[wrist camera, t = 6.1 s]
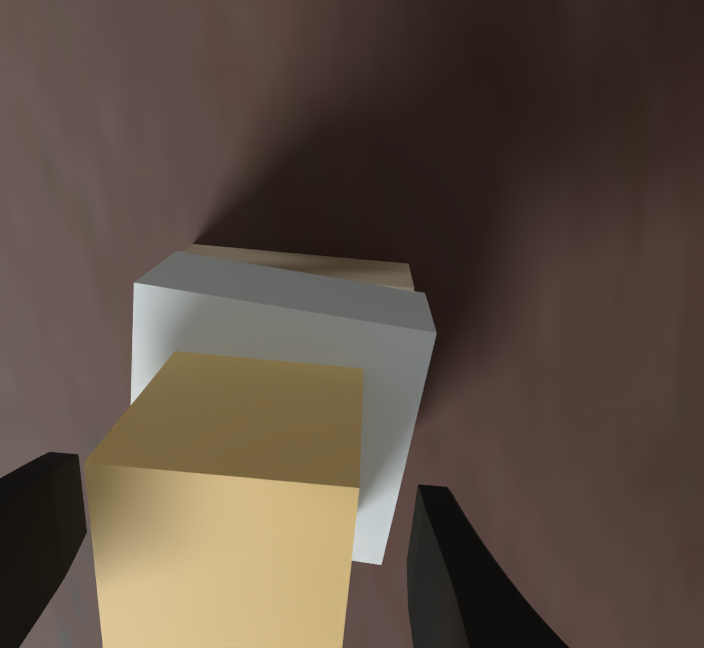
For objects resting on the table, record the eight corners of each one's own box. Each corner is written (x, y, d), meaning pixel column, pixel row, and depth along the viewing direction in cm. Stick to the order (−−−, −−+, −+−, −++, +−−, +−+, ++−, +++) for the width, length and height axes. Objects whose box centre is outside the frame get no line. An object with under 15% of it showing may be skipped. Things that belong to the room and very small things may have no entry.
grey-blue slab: (425, 292, 16) (436, 332, 13) (379, 494, 18) (381, 564, 15) (176, 251, 16) (133, 282, 13) (165, 461, 18) (127, 526, 15)
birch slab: (407, 260, 18) (414, 287, 16) (385, 441, 21) (387, 493, 18) (196, 241, 18) (165, 265, 16) (199, 424, 21) (172, 473, 18)
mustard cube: (363, 368, 13) (359, 488, 9) (347, 520, 15) (337, 681, 11) (174, 351, 13) (83, 462, 9) (179, 504, 15) (104, 660, 11)
